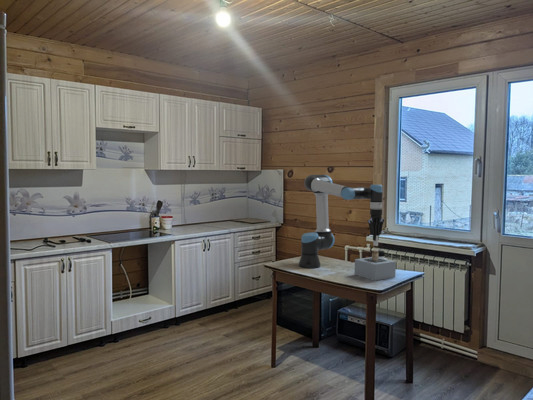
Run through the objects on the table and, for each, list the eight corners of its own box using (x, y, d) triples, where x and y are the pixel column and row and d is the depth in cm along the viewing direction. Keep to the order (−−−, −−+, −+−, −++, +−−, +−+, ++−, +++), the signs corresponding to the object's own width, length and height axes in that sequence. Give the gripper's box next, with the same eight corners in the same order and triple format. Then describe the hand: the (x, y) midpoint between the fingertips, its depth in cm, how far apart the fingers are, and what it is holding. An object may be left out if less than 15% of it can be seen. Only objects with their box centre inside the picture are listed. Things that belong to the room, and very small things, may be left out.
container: (387, 270, 287) (388, 251, 286) (377, 271, 284) (378, 251, 284) (381, 267, 294) (381, 249, 293) (371, 268, 292) (371, 249, 291)
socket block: (354, 274, 274) (354, 258, 273) (374, 271, 283) (374, 256, 283) (375, 280, 259) (375, 263, 258) (395, 277, 268) (395, 260, 267)
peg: (370, 264, 271) (370, 250, 271) (374, 264, 273) (375, 250, 273) (375, 265, 268) (375, 251, 267) (379, 265, 270) (379, 251, 269)
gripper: (373, 209, 262) (372, 247, 263) (387, 208, 268) (387, 245, 270) (364, 208, 268) (364, 245, 269) (379, 208, 275) (378, 243, 276)
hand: (375, 245), depth 269 cm, fingers closed
